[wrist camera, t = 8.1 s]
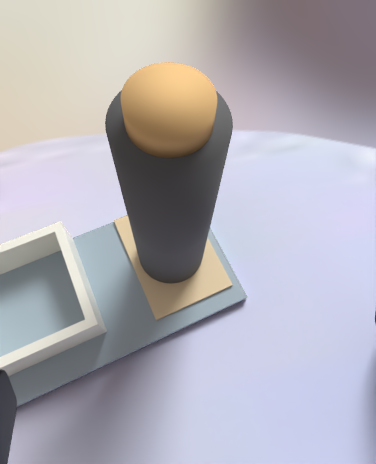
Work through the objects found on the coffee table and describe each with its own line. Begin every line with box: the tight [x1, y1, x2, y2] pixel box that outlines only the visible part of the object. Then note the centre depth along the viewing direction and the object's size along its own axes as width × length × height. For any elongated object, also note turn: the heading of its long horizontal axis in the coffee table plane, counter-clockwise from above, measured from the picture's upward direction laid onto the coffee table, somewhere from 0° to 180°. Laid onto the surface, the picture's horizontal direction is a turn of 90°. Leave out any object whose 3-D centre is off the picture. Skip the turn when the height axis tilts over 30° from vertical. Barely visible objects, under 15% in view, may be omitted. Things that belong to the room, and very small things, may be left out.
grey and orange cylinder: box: [105, 62, 233, 283], centre depth 16 cm, size 4×4×13 cm
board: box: [0, 215, 247, 407], centre depth 21 cm, size 8×15×3 cm, turn 115°
